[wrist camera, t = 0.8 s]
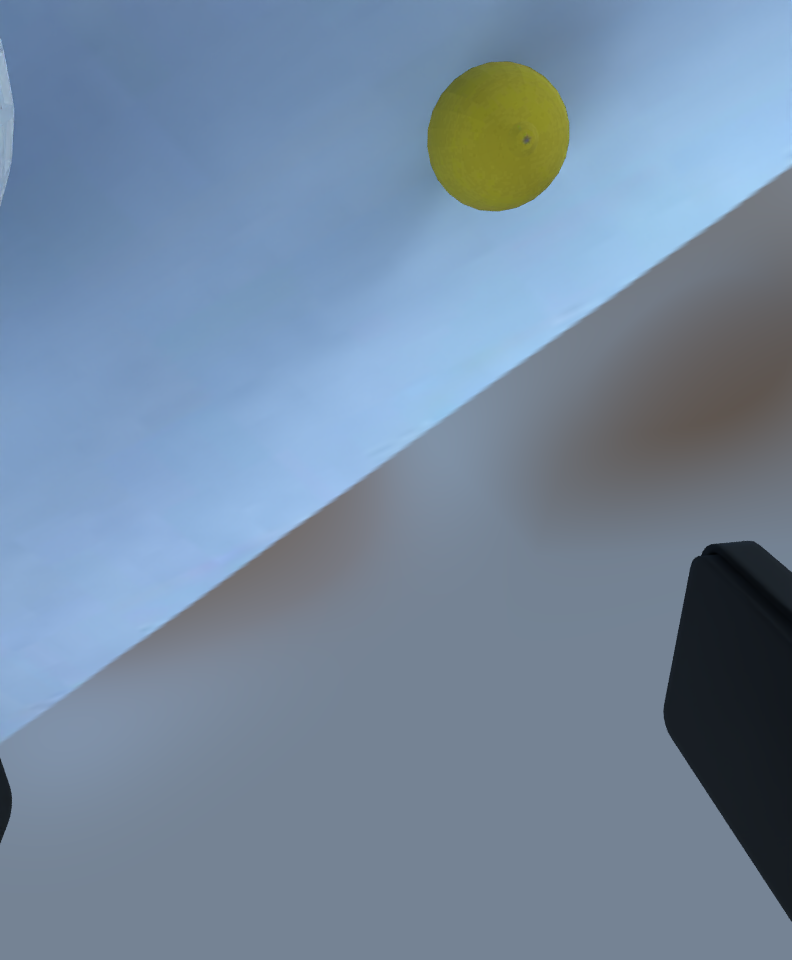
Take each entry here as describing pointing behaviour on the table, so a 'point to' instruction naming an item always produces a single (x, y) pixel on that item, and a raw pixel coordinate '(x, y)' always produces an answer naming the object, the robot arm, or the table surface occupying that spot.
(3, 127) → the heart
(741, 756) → the robot arm
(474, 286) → the table surface
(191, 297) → the table surface
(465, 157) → the lemon
